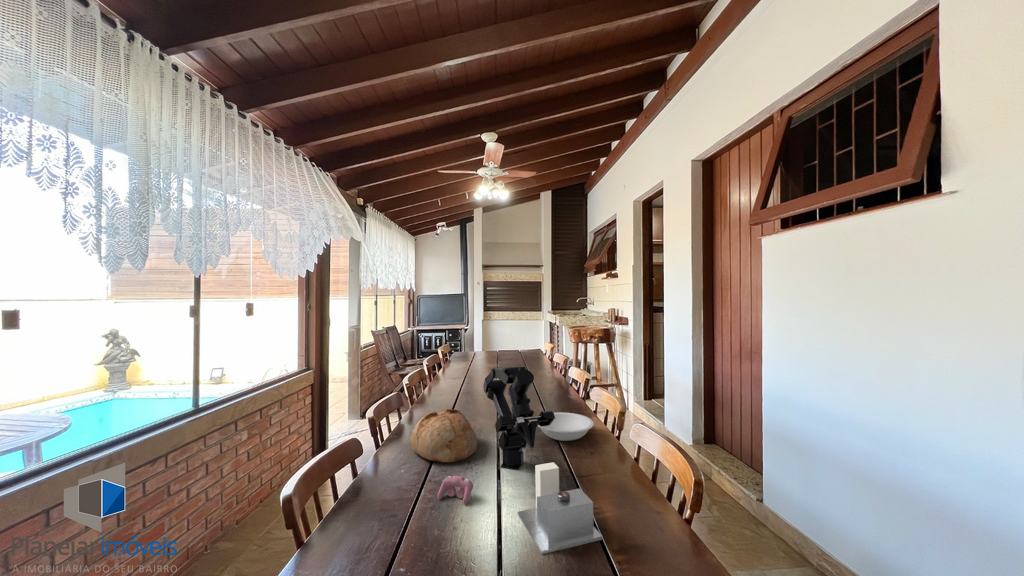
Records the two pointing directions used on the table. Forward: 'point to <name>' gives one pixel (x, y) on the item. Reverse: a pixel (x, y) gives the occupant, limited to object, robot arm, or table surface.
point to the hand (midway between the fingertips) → (532, 447)
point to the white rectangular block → (546, 479)
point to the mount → (561, 521)
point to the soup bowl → (568, 426)
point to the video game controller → (456, 481)
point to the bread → (444, 437)
